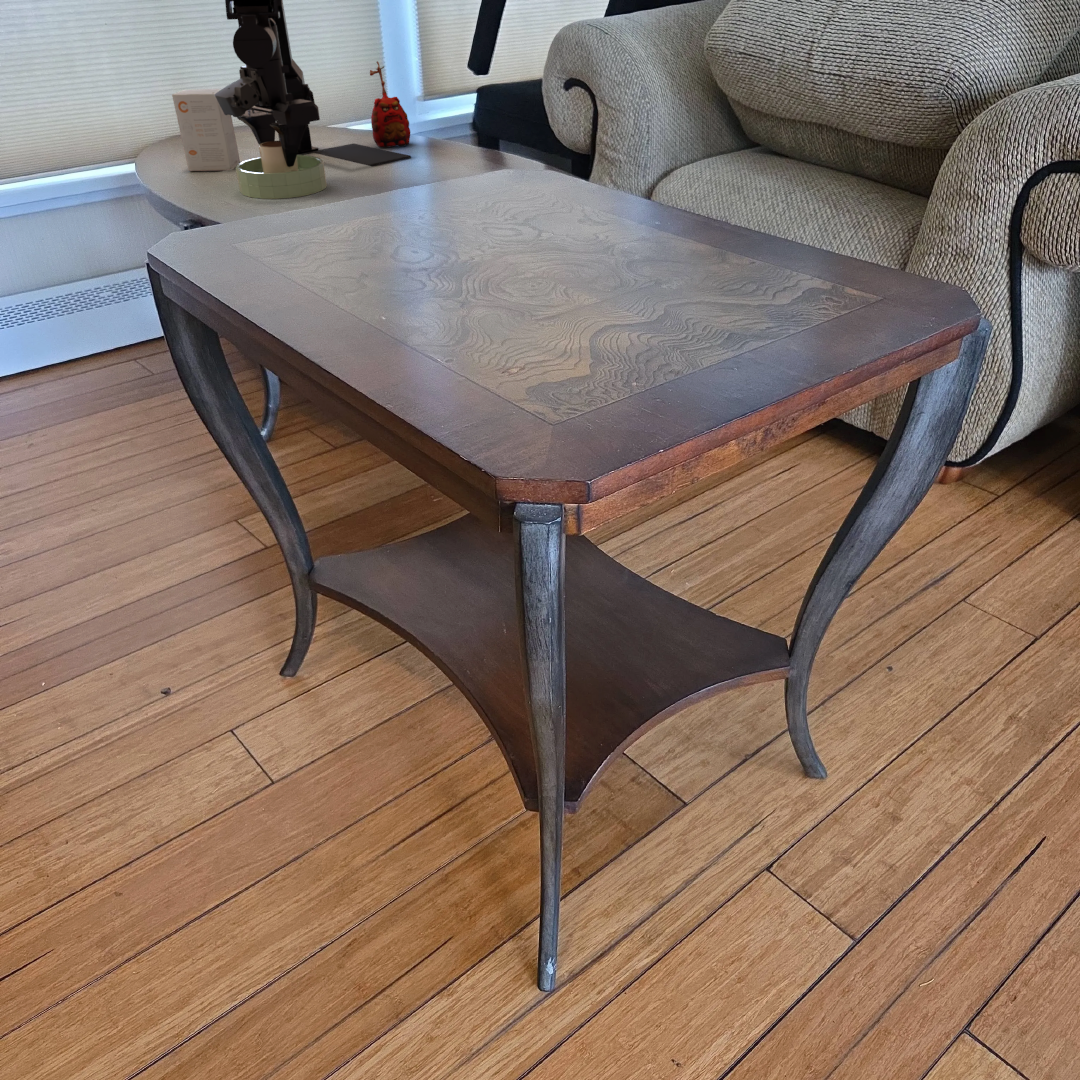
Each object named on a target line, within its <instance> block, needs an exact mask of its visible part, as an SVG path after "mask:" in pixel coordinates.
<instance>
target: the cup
mask: <svg viewBox="0 0 1080 1080" xmlns="http://www.w3.org/2000/svg"><path fill="white" fill-rule="evenodd" d="M258 150H259V155H260V156H259V157H261V162H262V168H263V173H281V172H291V171H298V170H299V168H298V161H297V156H296V160H295V163H294V166H291V167H288V166H287V164H286V161H285V158H284V154H283V150H282V146H281V142H280V141H279V140H275V141H269V142H264V143H261V144H258Z"/></svg>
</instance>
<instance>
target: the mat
mask: <svg viewBox="0 0 1080 1080" xmlns="http://www.w3.org/2000/svg"><path fill="white" fill-rule="evenodd" d="M311 154H317V155H321V156H324V157H325V156H326V157H329V158H334V159H338V160H343V161H345V162H346V161H347V162H351V163H356V164H359V165H364V166H367V167H368V166H369V167H376V166H379V165H384V164H389V163H393V162H398V161H402V160H407V159H412V156H411V155H410V154H409V155H408V154H405V153H400V152H396V151H392V150H386V149H383V148H382V149H381V148H377V147H372V146H367V145H363V144H357V143H349V144H344V145H338V146H334V147H329V148H322V149H319V150H318V151H313V152H308V153H303V154H298V155H311Z"/></svg>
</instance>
